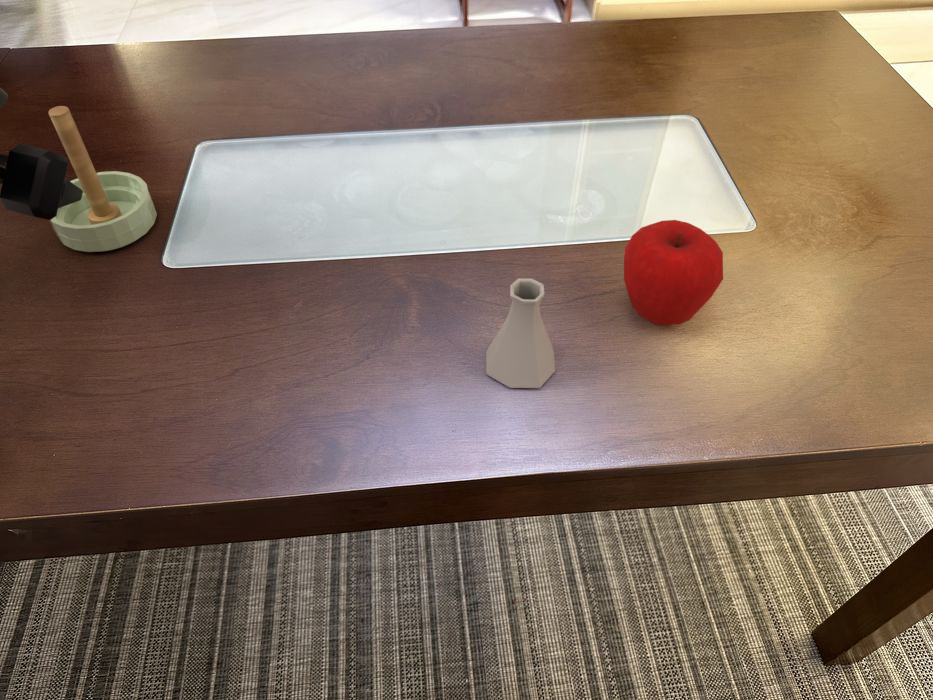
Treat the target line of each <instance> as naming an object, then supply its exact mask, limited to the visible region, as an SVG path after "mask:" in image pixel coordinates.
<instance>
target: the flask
mask: <svg viewBox="0 0 933 700" xmlns="http://www.w3.org/2000/svg"><path fill="white" fill-rule="evenodd" d="M544 285H545V284H544V283H542V282H540V281H537V280H536V279H534V278H520V277H519V278H517V279H516V280H515V281H514V282H513V283H512V284H510V286H509V295H510V300H511V304H510V307H509V311H508V314H507V316H506V318H505V320H504V321H503V323H502V325H501V327H500V329H499V330H498V332H497V334H496V336H495V337H494V339H493V340H492V342H491V343H490V345H489V346H488V348H487V349H486V352H485V374H486V375H487V376H488V377H491V378H492V379H494V380H496V381H498V382H499V383H501V384H503V385H504V386H506V387H508V388H510V389H540V388H542V386H543V385H544V384H545V383H546V382H547V381H548V380H549V379H550V378H551V376H553V374H554V373H555V372H556V359H555V350H554V347H553V344H552V342H551V339H550V337H549V334H548V332H547V330H546V326H545V323H544V321H543V317H542V314H541V301H542V299H544V297H545V286H544Z"/></svg>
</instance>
